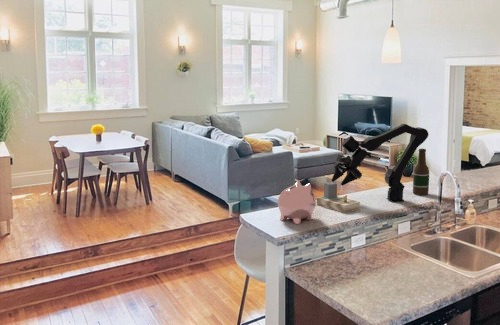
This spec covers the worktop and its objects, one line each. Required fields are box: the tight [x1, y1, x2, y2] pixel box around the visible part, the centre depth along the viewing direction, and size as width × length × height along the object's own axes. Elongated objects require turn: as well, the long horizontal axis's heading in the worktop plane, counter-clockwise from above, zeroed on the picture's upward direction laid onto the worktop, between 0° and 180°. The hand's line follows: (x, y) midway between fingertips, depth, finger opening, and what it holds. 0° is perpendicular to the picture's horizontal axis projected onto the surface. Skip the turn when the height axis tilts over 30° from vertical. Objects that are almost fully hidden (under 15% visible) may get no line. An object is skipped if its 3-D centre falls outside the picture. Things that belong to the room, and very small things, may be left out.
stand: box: [316, 195, 361, 214], centre depth 229 cm, size 19×10×4 cm, turn 33°
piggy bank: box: [277, 181, 317, 225], centre depth 210 cm, size 15×18×16 cm
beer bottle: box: [412, 148, 430, 197], centre depth 248 cm, size 8×8×24 cm
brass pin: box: [343, 194, 348, 202], centre depth 224 cm, size 2×2×3 cm
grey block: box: [323, 181, 338, 199], centre depth 232 cm, size 5×5×7 cm
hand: (336, 183), depth 233 cm, fingers open, 9 cm apart
